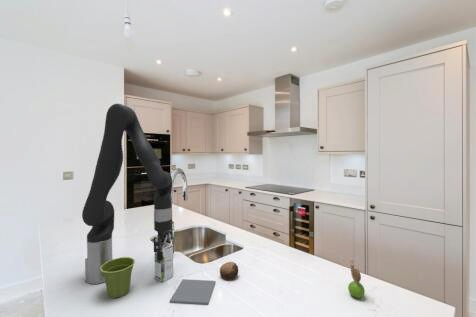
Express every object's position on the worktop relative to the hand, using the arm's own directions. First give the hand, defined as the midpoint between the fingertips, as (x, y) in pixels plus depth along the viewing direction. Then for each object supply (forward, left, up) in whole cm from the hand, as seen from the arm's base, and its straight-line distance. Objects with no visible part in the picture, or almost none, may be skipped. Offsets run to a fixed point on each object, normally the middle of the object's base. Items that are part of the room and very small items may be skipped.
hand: (164, 255), depth 99 cm
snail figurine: (+77, -6, -10) cm, 78 cm away
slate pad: (+16, -9, -10) cm, 20 cm away
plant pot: (-13, -12, -10) cm, 20 cm away
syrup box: (0, 0, -10) cm, 10 cm away
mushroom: (+28, +3, -10) cm, 30 cm away
